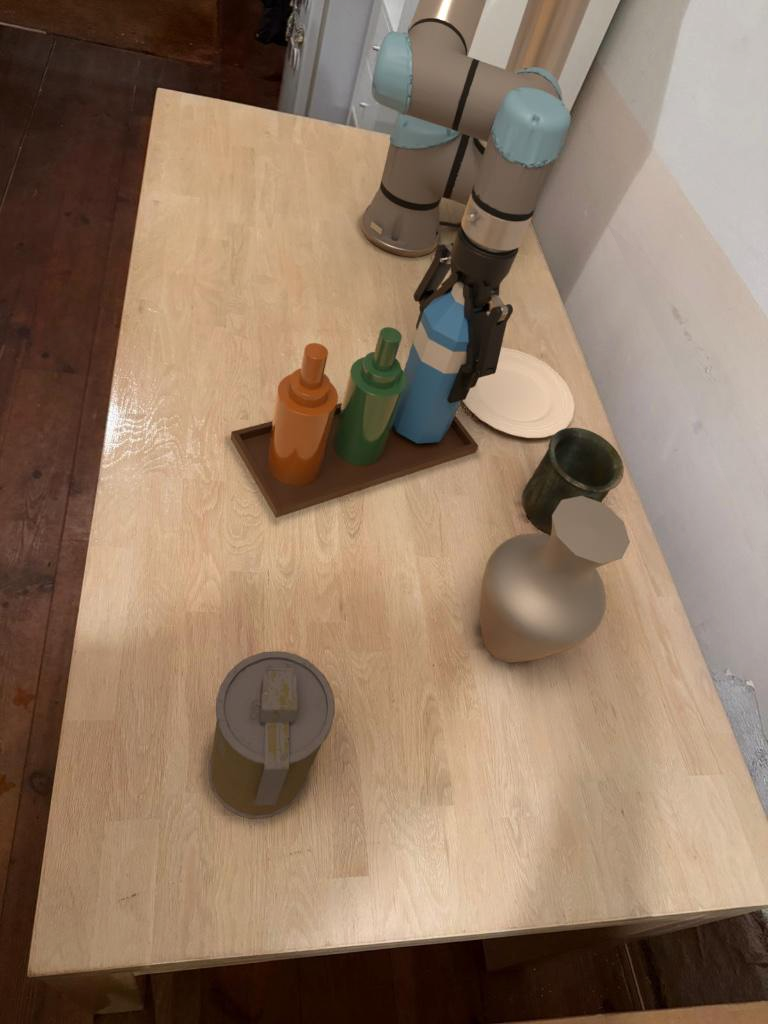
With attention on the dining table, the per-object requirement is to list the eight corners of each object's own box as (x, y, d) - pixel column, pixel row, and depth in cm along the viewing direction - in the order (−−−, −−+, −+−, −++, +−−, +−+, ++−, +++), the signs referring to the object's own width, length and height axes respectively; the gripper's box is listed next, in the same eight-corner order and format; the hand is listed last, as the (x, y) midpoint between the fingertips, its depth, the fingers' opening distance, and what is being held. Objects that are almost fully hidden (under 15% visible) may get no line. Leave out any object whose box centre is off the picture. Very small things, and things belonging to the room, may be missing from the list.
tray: (424, 389, 120) (428, 380, 118) (474, 454, 114) (478, 445, 112) (230, 441, 104) (231, 431, 103) (275, 520, 98) (277, 510, 97)
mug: (577, 483, 115) (613, 431, 106) (599, 562, 106) (640, 513, 97) (511, 476, 113) (542, 422, 103) (528, 557, 104) (563, 506, 95)
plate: (583, 390, 129) (588, 382, 127) (551, 465, 116) (556, 457, 114) (476, 337, 131) (479, 329, 129) (432, 406, 118) (435, 397, 116)
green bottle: (367, 421, 112) (400, 309, 96) (393, 457, 109) (431, 348, 92) (323, 433, 108) (350, 320, 92) (348, 471, 105) (380, 361, 89)
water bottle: (450, 406, 115) (506, 271, 96) (447, 450, 110) (507, 316, 90) (392, 392, 114) (437, 253, 95) (386, 436, 109) (433, 297, 89)
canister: (211, 719, 81) (220, 635, 65) (306, 720, 83) (337, 638, 67) (205, 825, 74) (213, 759, 59) (308, 822, 77) (343, 758, 61)
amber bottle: (305, 438, 107) (329, 324, 91) (330, 477, 104) (359, 365, 87) (257, 452, 104) (273, 335, 87) (281, 492, 100) (302, 379, 84)
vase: (531, 715, 90) (631, 616, 70) (431, 647, 92) (501, 533, 73) (575, 631, 98) (674, 522, 79) (482, 571, 101) (557, 451, 81)
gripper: (415, 185, 90) (376, 329, 108) (519, 299, 81) (458, 437, 98) (464, 180, 94) (418, 320, 111) (569, 289, 84) (501, 423, 102)
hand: (437, 375), depth 105 cm, fingers closed on water bottle, 9 cm apart
